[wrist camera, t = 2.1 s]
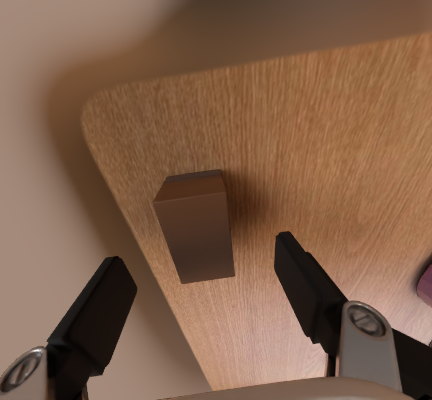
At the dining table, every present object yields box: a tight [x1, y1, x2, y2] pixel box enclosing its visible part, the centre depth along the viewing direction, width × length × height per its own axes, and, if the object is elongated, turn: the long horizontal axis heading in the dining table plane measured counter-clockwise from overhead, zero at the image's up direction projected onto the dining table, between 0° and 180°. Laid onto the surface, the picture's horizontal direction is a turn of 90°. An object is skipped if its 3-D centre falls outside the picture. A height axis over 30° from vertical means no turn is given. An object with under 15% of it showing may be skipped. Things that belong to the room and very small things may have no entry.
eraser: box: [153, 169, 235, 284], centre depth 12 cm, size 7×4×4 cm, turn 7°
